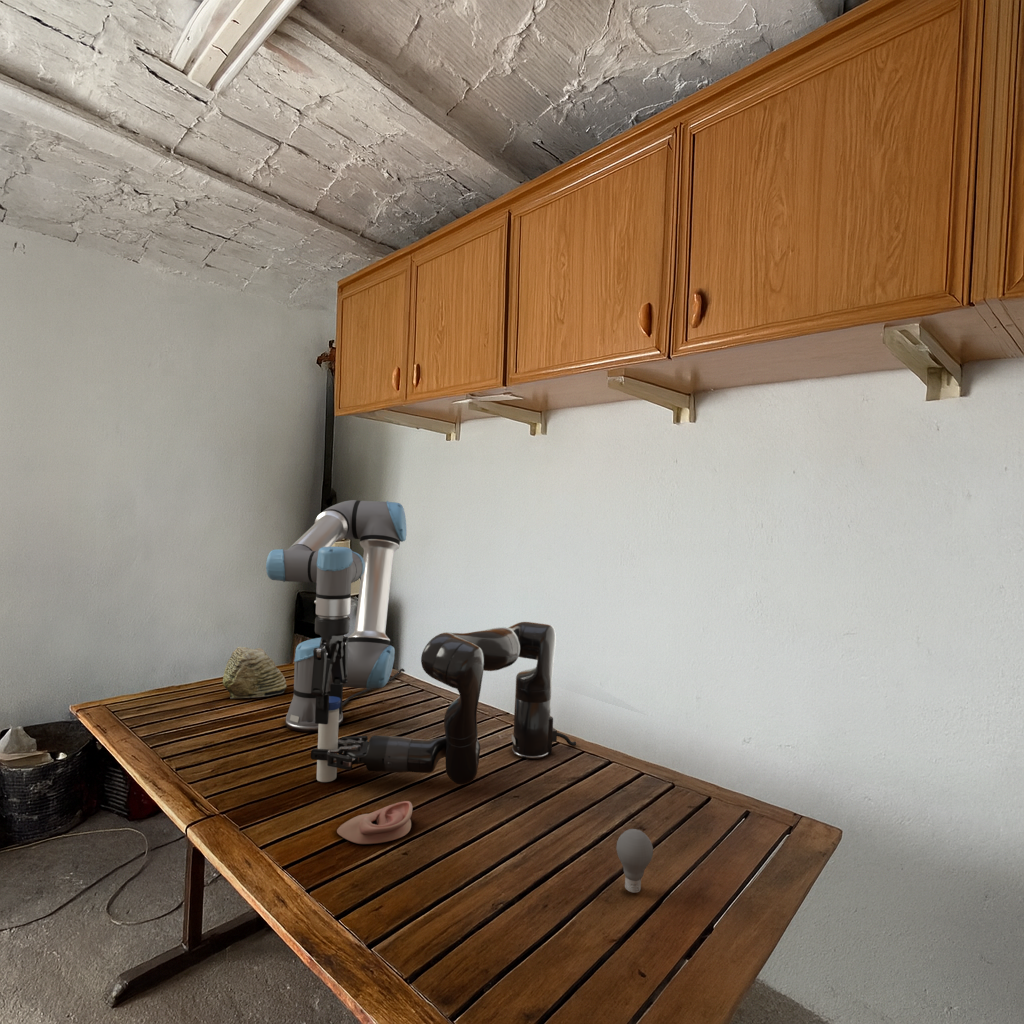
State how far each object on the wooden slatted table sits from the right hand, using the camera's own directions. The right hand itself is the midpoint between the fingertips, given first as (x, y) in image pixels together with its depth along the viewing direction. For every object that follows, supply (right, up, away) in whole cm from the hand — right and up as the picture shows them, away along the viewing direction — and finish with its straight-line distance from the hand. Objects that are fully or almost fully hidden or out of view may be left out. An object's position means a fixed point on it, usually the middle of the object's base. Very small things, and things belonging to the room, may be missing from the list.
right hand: (315, 749), depth 143 cm
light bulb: (+64, -10, -37) cm, 75 cm away
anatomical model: (+18, -8, -21) cm, 29 cm away
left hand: (+3, +7, 0) cm, 8 cm away
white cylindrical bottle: (+2, -6, 0) cm, 7 cm away
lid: (+3, +11, 0) cm, 12 cm away
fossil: (-36, -4, +55) cm, 66 cm away
